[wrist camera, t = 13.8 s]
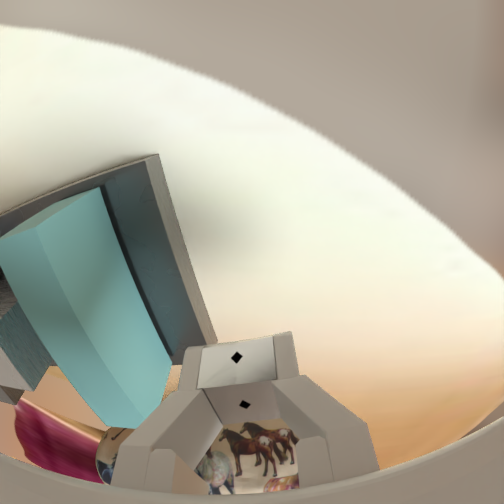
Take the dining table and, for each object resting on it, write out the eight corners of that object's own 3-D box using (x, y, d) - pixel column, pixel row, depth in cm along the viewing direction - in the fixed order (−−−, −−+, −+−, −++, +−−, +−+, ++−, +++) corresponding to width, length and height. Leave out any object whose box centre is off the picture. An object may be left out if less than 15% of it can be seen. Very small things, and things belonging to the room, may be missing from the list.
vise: (217, 340, 19) (203, 430, 13) (32, 349, 21) (-3, 403, 15) (158, 153, 14) (88, 189, 8) (-29, 229, 16) (-86, 271, 10)
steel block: (77, 323, 17) (33, 391, 11) (23, 327, 17) (-18, 381, 12) (49, 269, 15) (-10, 331, 10) (-2, 281, 16) (-52, 331, 10)
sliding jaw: (172, 362, 17) (153, 430, 13) (130, 364, 18) (106, 425, 13) (99, 186, 13) (34, 227, 8) (54, 202, 13) (-9, 244, 8)
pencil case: (151, 449, 28) (135, 521, 19) (105, 406, 24) (75, 488, 16) (352, 421, 24) (370, 512, 15) (340, 368, 21) (366, 487, 12)
